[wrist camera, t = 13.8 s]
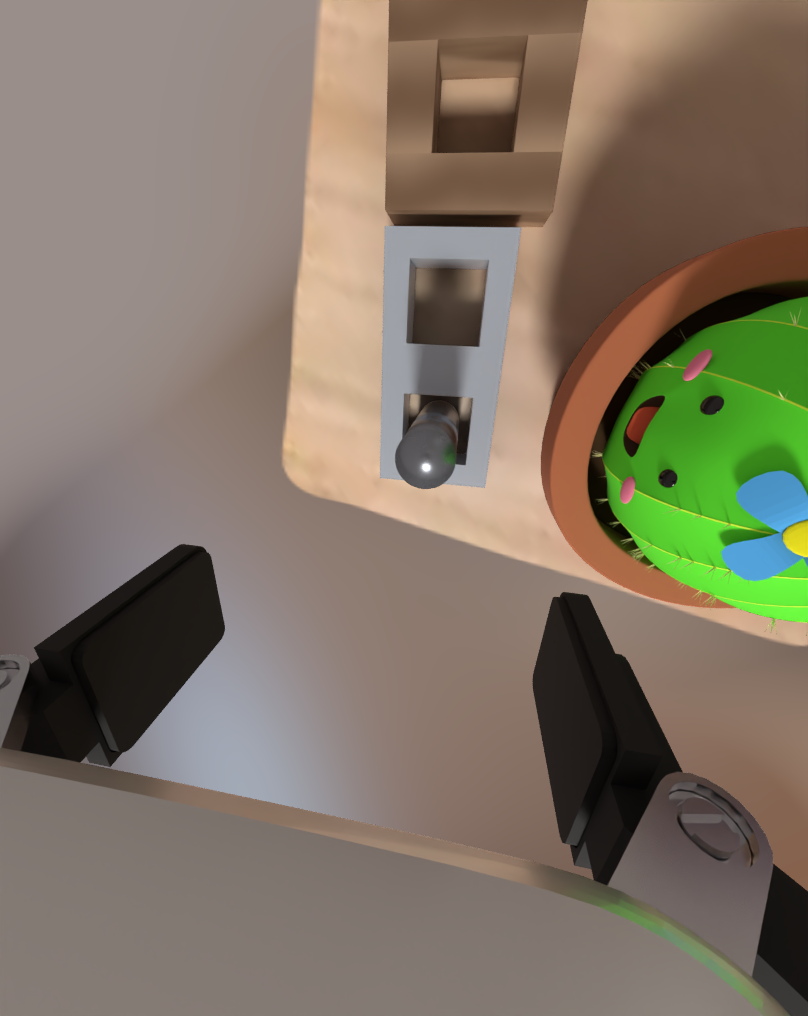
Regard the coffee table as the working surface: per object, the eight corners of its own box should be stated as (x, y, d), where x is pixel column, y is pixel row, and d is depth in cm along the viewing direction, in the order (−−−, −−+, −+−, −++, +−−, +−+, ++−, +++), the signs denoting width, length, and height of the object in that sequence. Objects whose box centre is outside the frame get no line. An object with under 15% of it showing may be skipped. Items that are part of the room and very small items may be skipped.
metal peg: (419, 399, 37) (396, 427, 24) (461, 401, 36) (458, 431, 24) (417, 439, 38) (393, 485, 26) (456, 442, 38) (452, 491, 25)
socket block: (400, 19, 27) (389, -32, 23) (576, 9, 25) (595, -47, 22) (394, 225, 32) (385, 209, 28) (542, 226, 30) (552, 210, 26)
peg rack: (394, 239, 32) (384, 225, 28) (514, 241, 31) (521, 227, 27) (387, 466, 40) (379, 478, 36) (483, 474, 39) (485, 487, 35)
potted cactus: (860, 317, 29) (2197, 220, 7) (697, 550, 39) (1029, 842, 16) (586, 242, 30) (952, -75, 7) (490, 488, 39) (524, 683, 17)
